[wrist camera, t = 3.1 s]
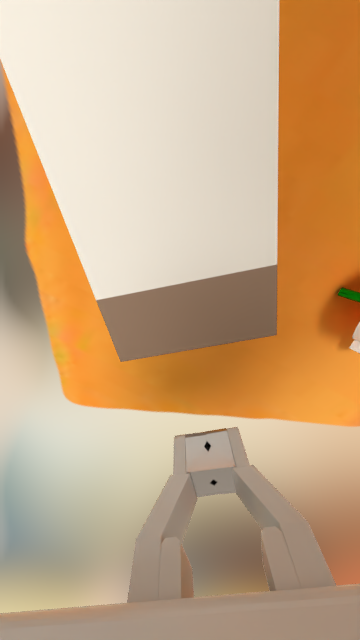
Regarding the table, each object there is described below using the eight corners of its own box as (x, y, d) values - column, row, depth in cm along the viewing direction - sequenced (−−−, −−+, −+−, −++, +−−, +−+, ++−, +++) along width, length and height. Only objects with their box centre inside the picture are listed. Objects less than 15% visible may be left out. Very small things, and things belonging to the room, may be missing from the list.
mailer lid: (-25, -58, 12) (-74, -128, 10) (258, -159, 11) (281, -268, 8) (126, 349, 25) (120, 361, 22) (266, 324, 23) (276, 335, 21)
